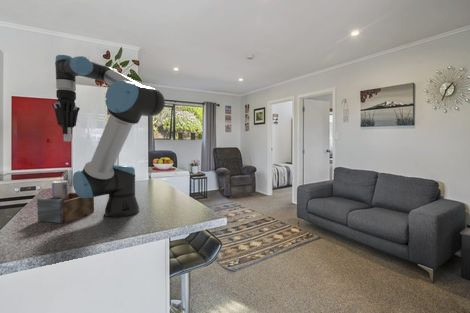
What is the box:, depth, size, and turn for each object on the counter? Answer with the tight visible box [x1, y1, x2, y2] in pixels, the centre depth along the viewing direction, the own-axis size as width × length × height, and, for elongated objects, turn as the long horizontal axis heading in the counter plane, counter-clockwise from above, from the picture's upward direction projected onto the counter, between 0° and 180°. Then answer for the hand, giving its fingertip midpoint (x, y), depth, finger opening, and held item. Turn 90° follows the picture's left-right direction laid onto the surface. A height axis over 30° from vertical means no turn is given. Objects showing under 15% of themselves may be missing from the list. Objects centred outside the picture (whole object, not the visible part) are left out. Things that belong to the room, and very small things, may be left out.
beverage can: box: [51, 179, 70, 201], centre depth 107 cm, size 6×6×15 cm
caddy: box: [48, 191, 95, 223], centre depth 111 cm, size 16×13×9 cm
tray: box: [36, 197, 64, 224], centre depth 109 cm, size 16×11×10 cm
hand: (67, 141), depth 114 cm, fingers closed
